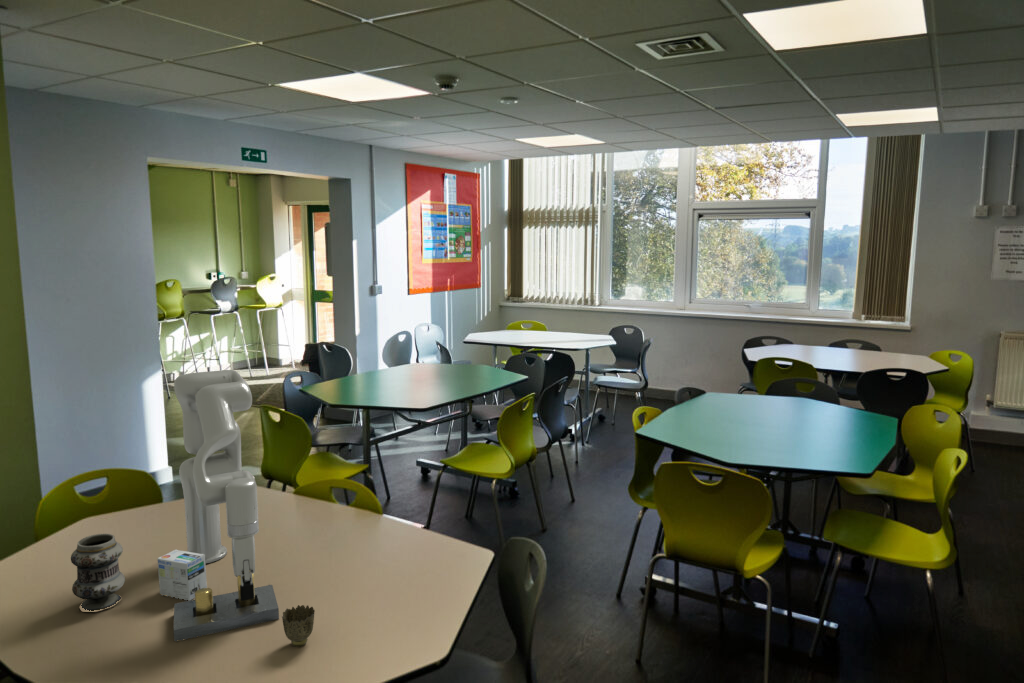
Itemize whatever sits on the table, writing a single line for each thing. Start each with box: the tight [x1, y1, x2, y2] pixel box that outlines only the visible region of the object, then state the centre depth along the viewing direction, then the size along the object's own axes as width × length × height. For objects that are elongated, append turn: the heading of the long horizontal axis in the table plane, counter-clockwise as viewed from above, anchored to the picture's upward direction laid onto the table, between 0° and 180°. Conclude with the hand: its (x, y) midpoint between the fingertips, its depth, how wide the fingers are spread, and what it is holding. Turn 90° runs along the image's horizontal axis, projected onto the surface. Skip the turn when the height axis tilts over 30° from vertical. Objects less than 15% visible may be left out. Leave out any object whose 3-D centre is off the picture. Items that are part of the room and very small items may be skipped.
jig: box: [173, 584, 280, 642], centre depth 175 cm, size 14×24×3 cm, turn 116°
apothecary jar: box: [70, 533, 126, 611], centre depth 181 cm, size 12×12×18 cm
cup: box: [281, 604, 316, 648], centre depth 162 cm, size 8×7×8 cm
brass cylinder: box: [236, 570, 256, 607], centre depth 176 cm, size 4×4×8 cm
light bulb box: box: [156, 549, 208, 601], centre depth 187 cm, size 11×7×11 cm, turn 71°
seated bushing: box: [194, 587, 214, 617], centre depth 172 cm, size 4×4×8 cm
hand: (246, 594), depth 177 cm, fingers closed on brass cylinder, 4 cm apart
